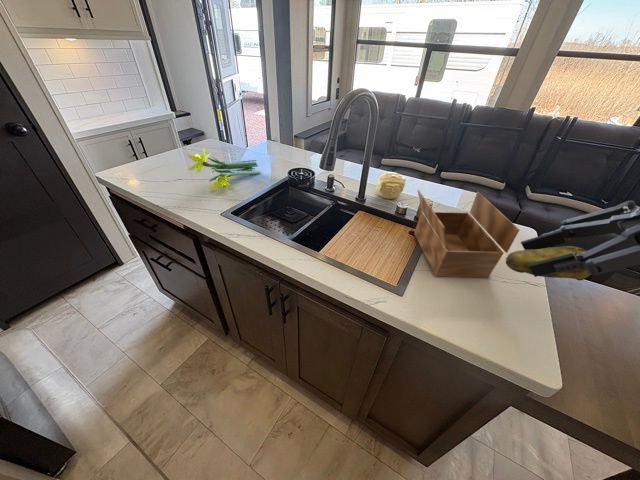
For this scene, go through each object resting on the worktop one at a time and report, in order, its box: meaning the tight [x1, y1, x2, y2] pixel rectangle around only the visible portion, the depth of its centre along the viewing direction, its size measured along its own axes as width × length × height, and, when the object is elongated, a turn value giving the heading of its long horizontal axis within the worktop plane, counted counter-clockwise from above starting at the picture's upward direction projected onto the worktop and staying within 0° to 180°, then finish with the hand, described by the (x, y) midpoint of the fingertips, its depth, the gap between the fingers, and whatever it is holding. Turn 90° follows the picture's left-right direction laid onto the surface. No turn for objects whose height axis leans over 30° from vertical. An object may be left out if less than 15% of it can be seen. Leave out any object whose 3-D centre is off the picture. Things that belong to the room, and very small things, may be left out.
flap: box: [417, 189, 448, 250], centre depth 75 cm, size 21×8×1 cm
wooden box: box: [413, 191, 520, 278], centre depth 78 cm, size 21×17×17 cm
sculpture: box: [375, 171, 406, 200], centre depth 111 cm, size 12×12×11 cm
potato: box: [505, 245, 599, 282], centre depth 50 cm, size 8×13×8 cm, turn 50°
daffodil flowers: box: [187, 145, 261, 192], centre depth 113 cm, size 17×15×35 cm
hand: (527, 258), depth 51 cm, fingers closed on potato, 7 cm apart
